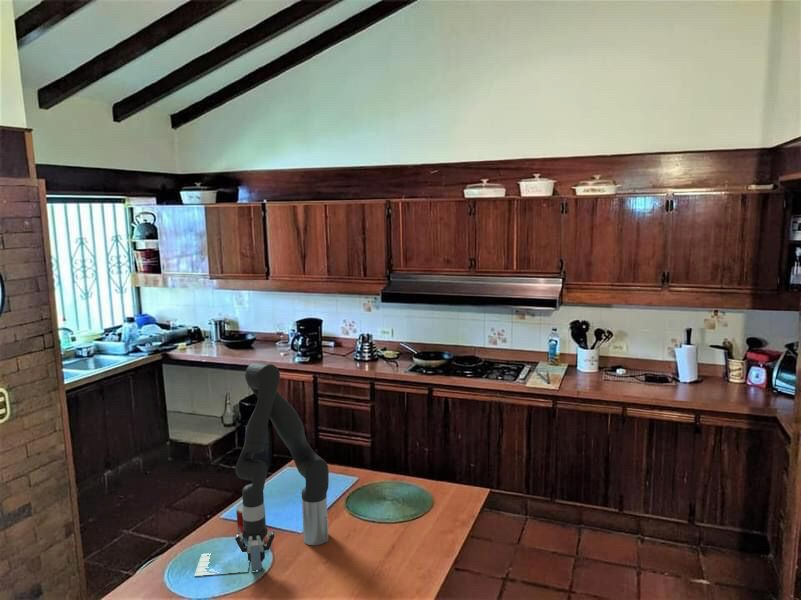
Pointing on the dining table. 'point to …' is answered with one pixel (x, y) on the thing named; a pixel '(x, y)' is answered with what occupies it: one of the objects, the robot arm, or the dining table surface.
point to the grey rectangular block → (255, 556)
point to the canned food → (239, 518)
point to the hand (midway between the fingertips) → (256, 560)
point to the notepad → (204, 566)
